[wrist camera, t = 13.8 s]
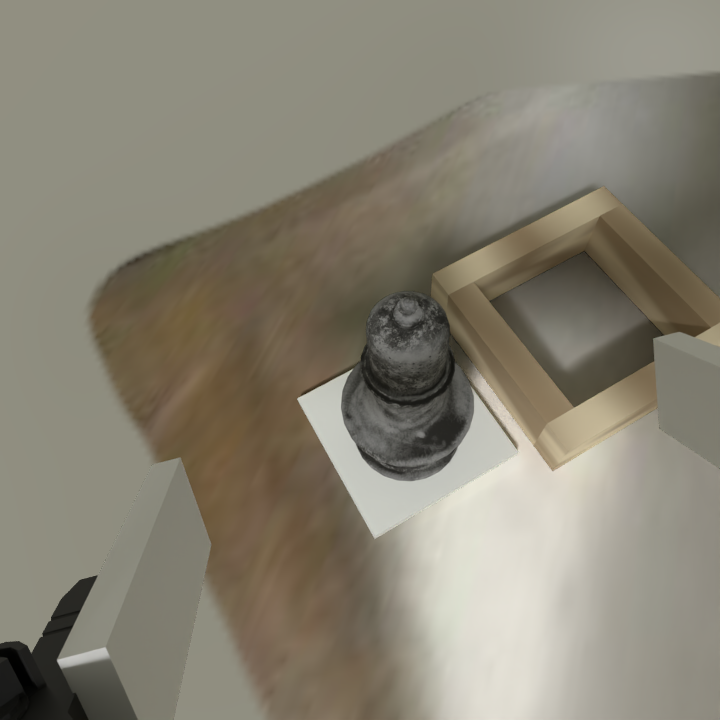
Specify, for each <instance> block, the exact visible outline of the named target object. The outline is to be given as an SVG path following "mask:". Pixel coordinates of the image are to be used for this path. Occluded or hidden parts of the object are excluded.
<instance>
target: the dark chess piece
mask: <svg viewBox="0 0 720 720" xmlns="http://www.w3.org/2000/svg"><path fill="white" fill-rule="evenodd" d="M449 336H450V325H449V321H448V318H447V315H446V312H445V311H444V309H443V308H442V306H441V305H440V304H439V303H438V302H437V301H435V300H434V299H433V298H431V297H429V296H427V295H425V294H422V293H418V292H414V291H402V292H397V293H393V294H391V295H388V296H386V297H384V298H383V299H381V300H380V301H379V302H378V303H376V305H375V306H374V307H373V309H372V310H371V312H370V315H369V317H368V320H367V324H366V337H367V344H366V346H365V348H364V350H363V353H362V355H361V361H360V362H359V363H357V365H356V366H355V367H354V369H353V370H352V372H351V373H350V374H349V376H348V378H347V380H346V383H345V385H344V388H343V391H342V400H341V411H342V416H343V421H344V425H345V427H346V429H347V431H348V432H349V434H350V436H351V438H352V440H353V441H354V442H355V443H356V446H357V448H358V450H359V452H360V454H361V456H362V458H363V459H364V460H365V462H366V463H367V464H368V465H369V466H370V467H371V468H372V469H373V470H375V471H377V472H378V473H380V474H381V475H383V476H385V477H388V478H391V479H394V480H398V481H416V480H421V479H425V478H428V477H430V476H432V475H434V474H436V473H438V472H439V471H441V470H442V469H443V468H444V467H445V466H446V465H447V464H448V463H449V462H450V461H451V459H452V457H453V456H454V454H455V453H456V451H457V448H458V445H460V444H461V442H462V440H463V439H464V437H465V436H466V434H467V432H468V431H469V429H470V425H471V422H472V418H473V414H474V395H473V392H472V389H471V385H470V382H469V380H468V378H467V377H466V375H465V374H464V372H463V370H462V369H461V367H460V366H459V365H458V364H457V363H455V359H454V356H453V352H452V349H451V348H450V346H449V345H448V343H449Z"/></svg>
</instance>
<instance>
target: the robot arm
mask: <svg viewBox="0 0 720 720" xmlns="http://www.w3.org/2000/svg"><path fill="white" fill-rule="evenodd" d="M653 345H654V360H655V375H656V389H657V404H658V419H659V429H661V430H662V431H664V432H665V433H667V434H668V435H670V436H671V437H673V438H674V439H676V440H677V441H679V442H680V443H682V444H683V445H685V446H686V447H688V448H689V449H691V450H692V451H694V452H695V453H697V454H698V455H700V456H701V457H703V458H704V459H706V460H707V461H709V462H710V463H712V464H713V465H715V466H716V467H718V468H719V469H720V347H718V346H716V345H713V344H710V343H708V342H705V341H703V340H700V339H697V338H695V337H692V336H690V335H687V334H684V333H682V332H676V333H672V334H668V335H664V336H661V337H657V338H653ZM210 548H211V542H210V540H209V537H208V534H207V531H206V528H205V526H204V523H203V520H202V517H201V514H200V511H199V509H198V506H197V503H196V500H195V497H194V494H193V492H192V489H191V486H190V483H189V480H188V477H187V475H186V472H185V469H184V466H183V463H182V460H181V458H177V459H173V460H169V461H165V462H161V463H157V464H153V465H151V468H150V470H149V472H148V474H147V476H146V478H145V480H144V482H143V484H142V486H141V488H140V490H139V492H138V494H137V496H136V498H135V500H134V503H133V505H132V507H131V509H130V511H129V513H128V515H127V517H126V519H125V521H124V523H123V525H122V527H121V529H120V532H119V533H118V535H117V537H116V540H115V542H114V544H113V546H112V548H111V550H110V552H109V554H108V556H107V558H106V560H105V562H104V564H103V566H102V568H101V570H100V572H99V574H98V576H93V577H89V578H86V579H82V580H79V581H78V583H76V585H74V586H73V588H72V589H71V590H70V591H69V592H68V593H67V594H66V595H65V596H64V597H63V598H62V599H61V600H60V602H59V604H58V606H57V608H56V610H55V611H54V613H53V615H52V617H51V621H50V622H48V624H47V626H46V628H45V630H44V631H43V633H42V634H43V637H41V638H40V639H39V641H38V642H37V644H36V646H35V648H34V650H33V652H32V653H31V652H30V650H29V648H28V646H27V645H25V644H23V643H21V642H19V641H16V642H4V643H1V644H0V720H174V715H175V710H176V706H177V701H178V697H179V692H180V687H181V683H182V678H183V673H184V669H185V664H186V660H187V655H188V650H189V645H190V641H191V636H192V632H193V627H194V622H195V618H196V613H197V608H198V604H199V599H200V595H201V590H202V585H203V581H204V576H205V571H206V567H207V562H208V557H209V553H210Z"/></svg>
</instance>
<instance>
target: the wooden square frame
mask: <svg viewBox="0 0 720 720" xmlns="http://www.w3.org/2000/svg"><path fill="white" fill-rule="evenodd" d="M583 251H585V252H586V253H587V254H588V255H589V256H590V257H591V258H592V259H593V260H594V261H595V262H596V263H597V264H598V266H599V267H600V268H601V269H602V270H603V271H604V272H605V273H606V274H607V275H608V276H609V277H610V278H611V279H612V280H613V281H614V283H615V284H616V285H617V286H618V287H619V288H620V289H621V290H622V291H623V292H624V293H625V294H626V295H627V296H628V297H629V298H630V300H631V301H632V302H633V303H634V304H635V305H636V306H637V307H638V308H639V309H640V310H641V311H642V312H643V313H644V314H645V315H646V316H647V318H648V319H649V320H650V321H651V322H652V323H653V324H654V325H655V326H656V327H657V328H658V329H659V330H660V331H661V332H662V333H663V335H668V334H672V333H676V332H682V333H684V334H687V335H690V336H692V337H695V338H697V339H700V340H703V341H705V342H708V343H710V344H713V345H716V346H718V347H720V298H719V297H718V296H717V295H716V294H715V293H714V292H713V291H712V290H711V289H710V288H709V287H708V286H707V285H706V284H705V283H703V282H702V281H701V280H700V279H699V278H698V277H697V276H696V275H695V274H694V273H693V272H692V271H691V270H690V269H689V268H688V267H687V266H686V265H685V264H684V263H683V262H682V261H681V260H680V259H679V258H678V257H677V256H676V255H675V254H674V253H673V252H671V251H670V250H669V249H668V248H667V247H666V246H665V245H664V244H663V243H662V242H661V241H660V240H659V239H658V238H657V237H656V236H655V235H654V234H653V233H652V232H651V231H650V230H649V229H648V228H647V227H646V226H645V225H644V224H643V223H642V222H640V221H639V220H638V219H637V218H636V217H635V216H634V215H633V214H632V213H631V212H630V211H629V210H628V209H627V208H626V207H625V206H624V205H623V204H622V203H621V202H620V201H619V200H618V199H617V198H616V197H615V196H614V195H613V194H612V193H611V192H610V191H608V190H607V189H606V188H605V187H604V186H603V187H601V188H599V189H597V190H595V191H593V192H591V193H589V194H587V195H585V196H584V197H582V198H580V199H578V200H576V201H574V202H572V203H570V204H568V205H566V206H564V207H562V208H560V209H558V210H556V211H554V212H552V213H550V214H548V215H546V216H544V217H542V218H541V219H539V220H537V221H535V222H533V223H531V224H529V225H527V226H525V227H523V228H521V229H519V230H517V231H515V232H513V233H511V234H509V235H507V236H505V237H503V238H501V239H499V240H498V241H496V242H494V243H492V244H490V245H488V246H486V247H484V248H482V249H480V250H478V251H476V252H474V253H472V254H470V255H468V256H466V257H464V258H462V259H460V260H458V261H456V262H455V263H453V264H451V265H449V266H447V267H445V268H443V269H441V270H439V271H437V272H435V273H433V274H432V285H431V298H433V299H434V300H435V301H437V302H438V303H439V304H440V305H441V306H442V308H443V309H444V311H445V312H446V315H447V318H448V321H449V325H450V333H451V334H452V335H453V337H454V338H455V340H456V341H457V342H458V344H459V345H460V346H461V348H462V349H463V350H464V352H465V353H466V354H467V356H468V357H469V359H470V360H471V361H472V363H473V364H474V365H475V367H476V368H477V369H478V371H479V372H480V373H481V375H482V376H483V377H484V379H485V380H486V382H487V383H488V384H489V386H490V387H491V388H492V390H493V391H494V392H495V394H496V395H497V396H498V398H499V399H500V400H501V402H502V403H503V405H504V406H505V407H506V409H507V410H508V411H509V413H510V414H511V415H512V417H513V418H514V419H515V421H516V422H517V423H518V425H519V426H520V428H521V429H522V430H523V432H524V433H525V434H526V436H527V437H528V438H529V440H530V441H531V442H532V444H533V445H534V447H535V448H536V449H537V451H538V452H539V453H540V455H541V456H542V457H543V459H544V460H545V461H546V463H547V464H548V465H549V467H550V468H551V470H552V471H554V470H555V469H557V468H559V467H560V466H562V465H564V464H565V463H567V462H569V461H570V460H572V459H574V458H575V457H577V456H579V455H580V454H582V453H584V452H585V451H587V450H589V449H590V448H592V447H594V446H595V445H597V444H599V443H600V442H602V441H604V440H605V439H607V438H609V437H610V436H612V435H613V434H615V433H617V432H618V431H620V430H622V429H623V428H625V427H627V426H628V425H630V424H632V423H633V422H635V421H637V420H638V419H640V418H642V417H643V416H645V415H647V414H648V413H650V412H652V411H653V410H655V409H657V408H658V404H657V389H656V375H655V361H653V362H652V363H650V364H648V365H646V366H645V367H643V368H641V369H640V370H638V371H636V372H635V373H633V374H631V375H629V376H628V377H626V378H624V379H623V380H621V381H619V382H617V383H616V384H614V385H612V386H611V387H609V388H607V389H605V390H604V391H602V392H600V393H599V394H597V395H595V396H593V397H592V398H590V399H588V400H587V401H585V402H583V403H581V404H580V405H578V406H576V407H575V408H574V407H573V406H572V404H571V403H570V402H569V401H568V399H567V398H566V397H565V396H564V394H563V393H562V392H561V391H560V389H559V388H558V387H557V386H556V384H555V383H554V382H553V381H552V379H551V378H550V377H549V376H548V374H547V373H546V372H545V371H544V369H543V368H542V367H541V366H540V364H539V363H538V362H537V361H536V359H535V358H534V357H533V356H532V354H531V353H530V352H529V351H528V349H527V348H526V347H525V346H524V344H523V343H522V342H521V341H520V339H519V338H518V337H517V336H516V334H515V333H514V332H513V331H512V329H511V328H510V327H509V326H508V324H507V323H506V322H505V321H504V319H503V318H502V317H501V316H500V314H499V313H498V312H497V311H496V309H495V308H494V307H493V306H492V304H491V303H490V302H489V301H490V300H492V299H494V298H496V297H498V296H500V295H502V294H504V293H506V292H507V291H509V290H511V289H513V288H515V287H517V286H519V285H521V284H522V283H524V282H526V281H528V280H530V279H532V278H534V277H536V276H538V275H539V274H541V273H543V272H545V271H547V270H549V269H551V268H553V267H554V266H556V265H558V264H560V263H562V262H564V261H566V260H568V259H570V258H571V257H573V256H575V255H577V254H579V253H581V252H583Z"/></svg>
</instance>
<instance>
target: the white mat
mask: <svg viewBox="0 0 720 720" xmlns="http://www.w3.org/2000/svg"><path fill="white" fill-rule="evenodd" d="M352 370H353V369H352ZM352 370H350V371H348V372H346V373H345V374H343V375H341V376H339V377H337V378H335V379H333V380H331V381H329V382H328V383H326V384H324V385H322V386H320V387H318V388H316V389H314V390H312V391H311V392H309V393H307V394H305V395H303V396H301V397H299V398H297V399H298V402H299V404H300V405H301V407H302V409H303V411H304V413H305V414H306V416H307V418H308V420H309V422H310V423H311V425H312V427H313V429H314V431H315V432H316V434H317V436H318V438H319V440H320V441H321V443H322V445H323V447H324V449H325V450H326V452H327V454H328V456H329V458H330V459H331V461H332V463H333V465H334V467H335V468H336V470H337V472H338V474H339V476H340V477H341V479H342V481H343V483H344V485H345V486H346V488H347V490H348V492H349V494H350V495H351V497H352V499H353V501H354V503H355V504H356V506H357V508H358V510H359V512H360V513H361V515H362V517H363V519H364V521H365V522H366V524H367V526H368V528H369V530H370V531H371V533H372V535H373V537H374V539H376V538H377V537H379V536H381V535H382V534H384V533H386V532H387V531H389V530H391V529H393V528H394V527H396V526H398V525H399V524H401V523H403V522H404V521H406V520H408V519H410V518H411V517H413V516H415V515H416V514H418V513H420V512H421V511H423V510H425V509H426V508H428V507H430V506H432V505H433V504H435V503H437V502H438V501H440V500H442V499H443V498H445V497H447V496H449V495H450V494H452V493H454V492H455V491H457V490H459V489H460V488H462V487H464V486H465V485H467V484H469V483H471V482H472V481H474V480H476V479H477V478H479V477H481V476H482V475H484V474H486V473H488V472H489V471H491V470H493V469H494V468H496V467H498V466H499V465H501V464H503V463H505V462H506V461H508V460H510V459H511V458H513V457H515V456H516V455H517V454H518V451H517V449H516V448H515V446H514V445H513V444H512V442H511V441H510V439H509V438H508V437H507V435H506V434H505V433H504V431H503V430H502V428H501V427H500V426H499V424H498V423H497V421H496V420H495V419H494V417H493V416H492V415H491V413H490V412H489V410H488V409H487V408H486V406H485V405H484V403H483V402H482V401H481V399H480V398H479V396H478V395H477V394H476V392H475V391H474V390H473V388H472V387H471V389H472V392H473V395H474V414H473V418H472V422H471V425H470V429H469V431H468V432H467V434H466V436H465V437H464V439H463V440H462V442H461V444H460V445H458V448H457V451H456V453H455V454H454V456H453V457H452V459H451V461H450V462H449V463H448V464H447V465H446V466H445V467H444V468H443V469H442V470H441V471H439V472H438V473H436V474H434V475H432V476H430V477H428V478H425V479H421V480H416V481H398V480H394V479H391V478H388V477H385V476H383V475H381V474H380V473H378V472H377V471H375V470H373V469H372V468H371V467H370V466H369V465H368V464H367V463H366V462H365V460H364V459H363V458H362V456H361V454H360V452H359V450H358V448H357V446H356V443H355V442H354V441H353V440H352V438H351V436H350V434H349V432H348V431H347V429H346V427H345V425H344V421H343V416H342V411H341V400H342V391H343V388H344V385H345V383H346V380H347V378H348V376H349V374H350V373H351V372H352Z"/></svg>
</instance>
